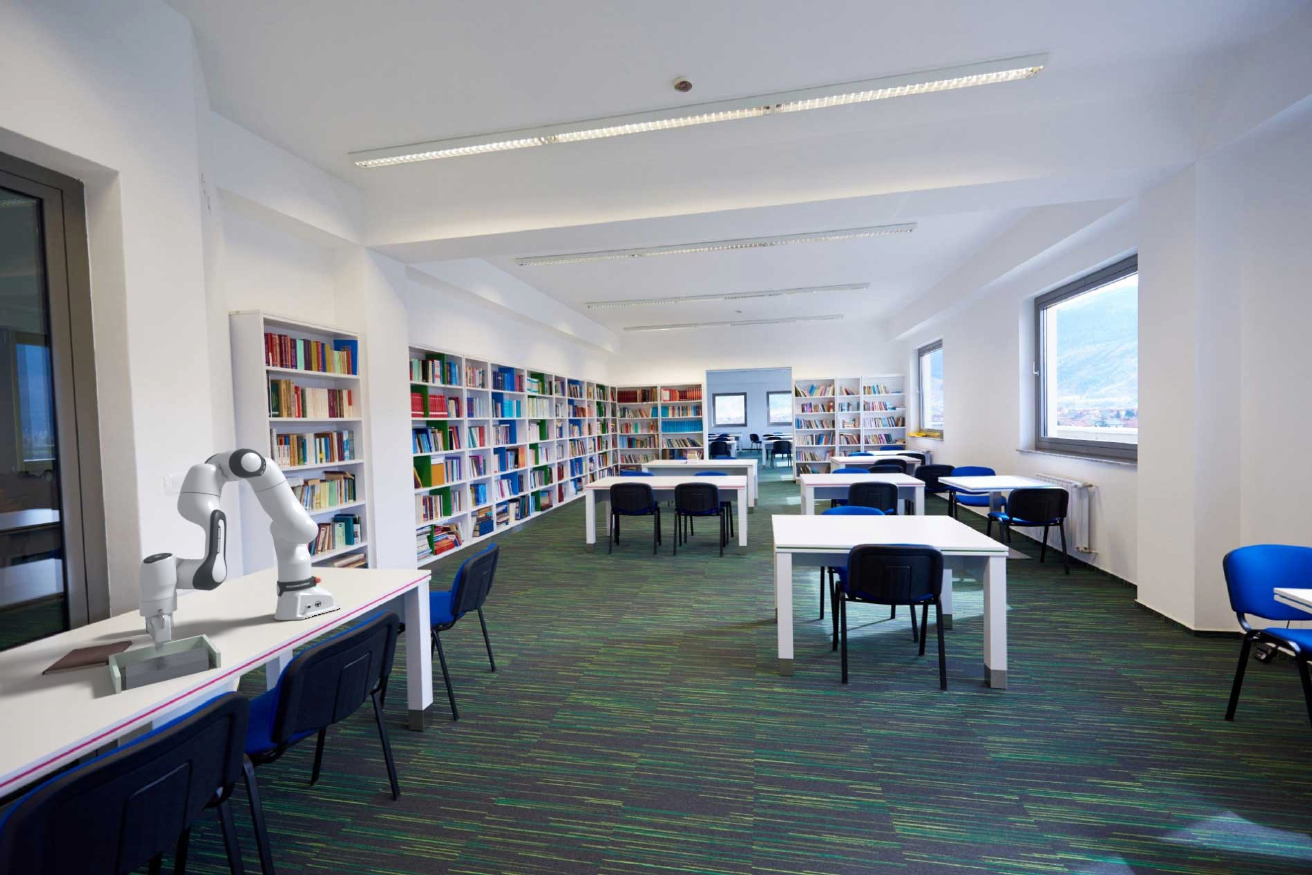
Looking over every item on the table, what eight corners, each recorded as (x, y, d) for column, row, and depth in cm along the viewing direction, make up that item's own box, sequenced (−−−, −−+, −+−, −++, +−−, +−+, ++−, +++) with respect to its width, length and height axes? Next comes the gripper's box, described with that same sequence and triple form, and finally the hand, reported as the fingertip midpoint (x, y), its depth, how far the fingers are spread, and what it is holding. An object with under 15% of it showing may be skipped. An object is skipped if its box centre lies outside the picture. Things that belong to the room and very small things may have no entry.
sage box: (205, 647, 187) (205, 634, 187) (220, 666, 171) (220, 651, 171) (109, 670, 171) (108, 655, 170) (116, 693, 154) (115, 677, 154)
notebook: (41, 676, 168) (41, 669, 168) (72, 654, 186) (72, 648, 186) (108, 666, 175) (108, 659, 175) (132, 645, 192) (132, 639, 192)
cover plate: (204, 659, 178) (203, 647, 178) (208, 671, 169) (208, 658, 169) (125, 677, 166) (125, 663, 166) (126, 691, 157) (126, 677, 157)
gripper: (176, 611, 171) (177, 656, 171) (167, 598, 185) (168, 640, 185) (149, 616, 166) (149, 663, 166) (141, 603, 180) (142, 646, 180)
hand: (159, 651), depth 176 cm, fingers closed
